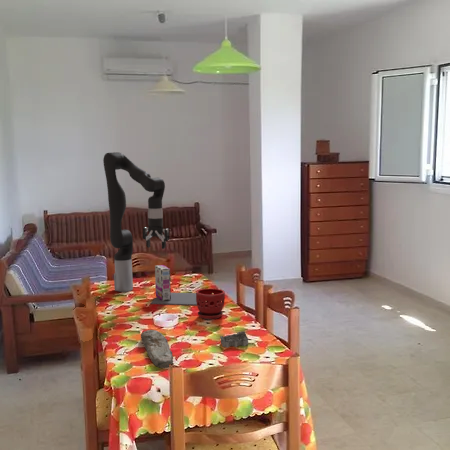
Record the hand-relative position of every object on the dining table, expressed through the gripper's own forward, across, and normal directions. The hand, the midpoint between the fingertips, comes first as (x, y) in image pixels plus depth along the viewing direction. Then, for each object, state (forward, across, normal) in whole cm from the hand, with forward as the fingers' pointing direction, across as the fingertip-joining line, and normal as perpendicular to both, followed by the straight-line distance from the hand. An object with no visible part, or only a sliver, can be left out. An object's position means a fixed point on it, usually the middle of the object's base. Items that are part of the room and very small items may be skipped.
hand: (156, 248), depth 277 cm
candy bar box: (+26, +5, -3) cm, 26 cm away
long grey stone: (+26, +36, -67) cm, 80 cm away
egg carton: (+25, +62, -51) cm, 84 cm away
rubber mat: (+26, +13, 0) cm, 29 cm away
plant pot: (+26, +39, -21) cm, 51 cm away
